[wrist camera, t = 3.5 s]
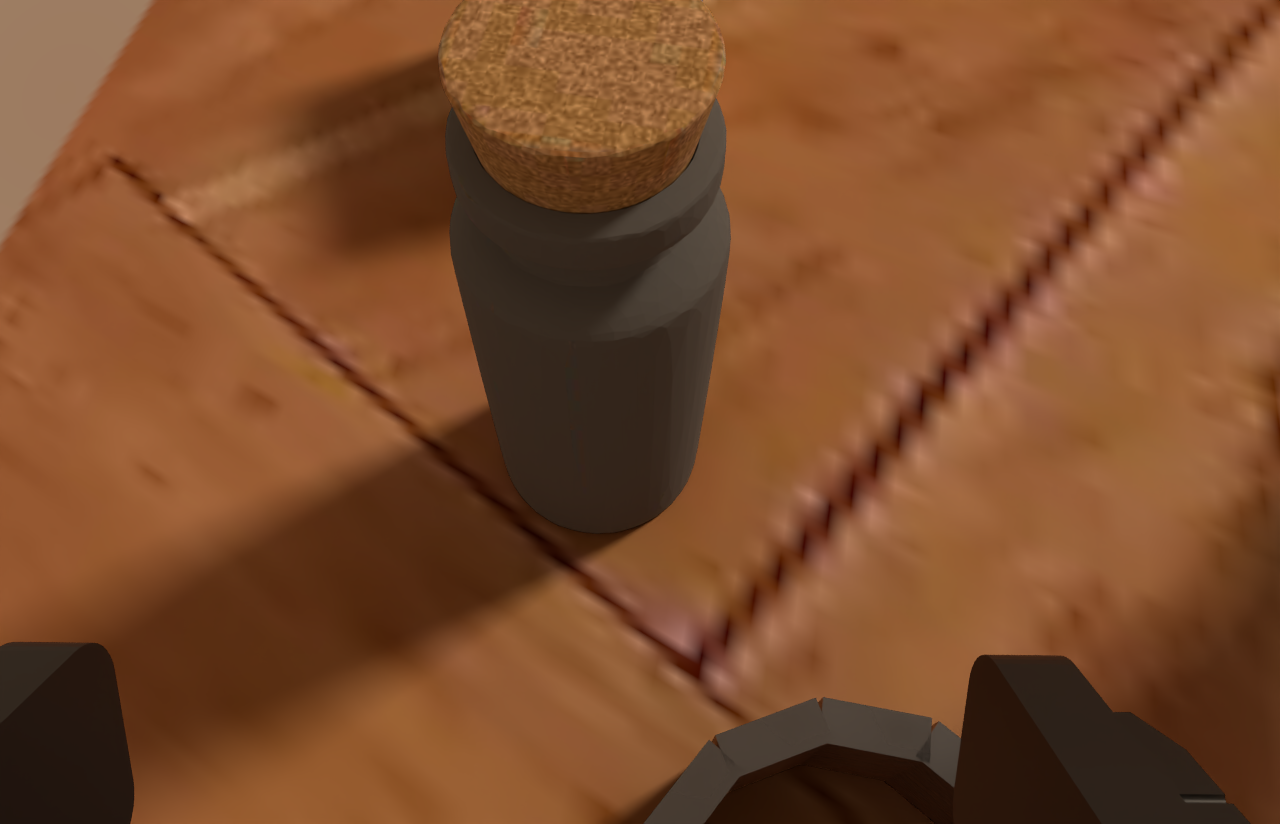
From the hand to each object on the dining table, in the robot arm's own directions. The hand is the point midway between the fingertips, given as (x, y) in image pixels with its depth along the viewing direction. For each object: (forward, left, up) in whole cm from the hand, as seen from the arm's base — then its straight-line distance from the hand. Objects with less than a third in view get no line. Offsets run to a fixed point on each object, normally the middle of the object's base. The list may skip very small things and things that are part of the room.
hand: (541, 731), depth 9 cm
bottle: (-11, -2, -17) cm, 20 cm away
